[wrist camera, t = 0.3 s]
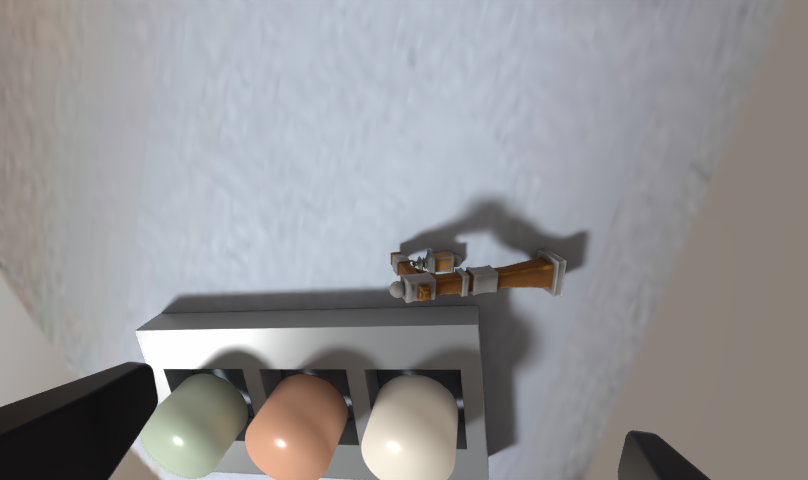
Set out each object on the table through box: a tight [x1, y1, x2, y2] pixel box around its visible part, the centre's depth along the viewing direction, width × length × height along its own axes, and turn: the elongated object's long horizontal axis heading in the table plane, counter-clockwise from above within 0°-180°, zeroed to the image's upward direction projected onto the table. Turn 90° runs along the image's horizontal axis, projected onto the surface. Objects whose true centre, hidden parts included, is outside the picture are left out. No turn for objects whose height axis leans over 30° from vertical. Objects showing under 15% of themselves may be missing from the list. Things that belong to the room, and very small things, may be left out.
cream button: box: [361, 375, 458, 480], centre depth 21 cm, size 4×4×3 cm
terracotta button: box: [245, 374, 348, 480], centre depth 22 cm, size 4×4×3 cm
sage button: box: [140, 374, 248, 478], centre depth 24 cm, size 4×4×3 cm
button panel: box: [135, 306, 489, 480], centre depth 25 cm, size 10×19×2 cm, turn 97°
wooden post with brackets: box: [390, 249, 566, 303], centre depth 21 cm, size 2×8×4 cm, turn 89°
